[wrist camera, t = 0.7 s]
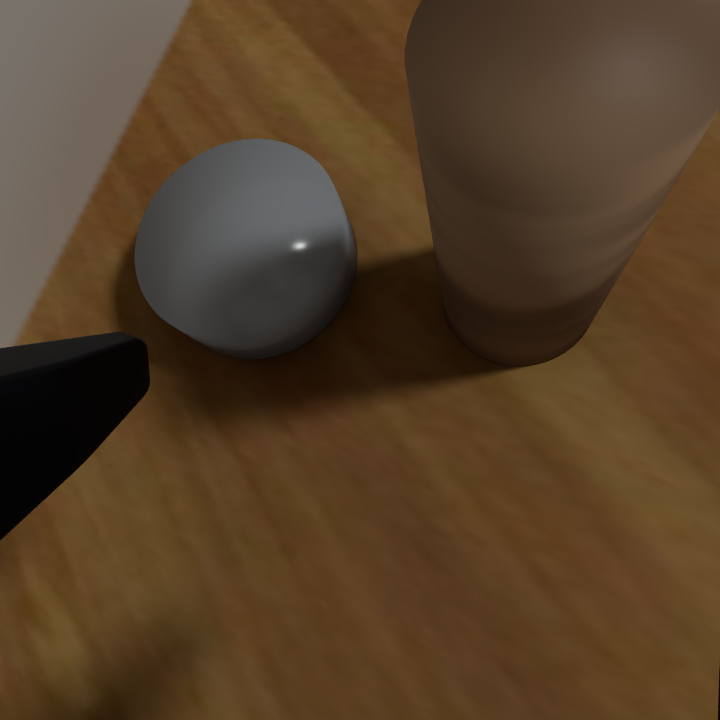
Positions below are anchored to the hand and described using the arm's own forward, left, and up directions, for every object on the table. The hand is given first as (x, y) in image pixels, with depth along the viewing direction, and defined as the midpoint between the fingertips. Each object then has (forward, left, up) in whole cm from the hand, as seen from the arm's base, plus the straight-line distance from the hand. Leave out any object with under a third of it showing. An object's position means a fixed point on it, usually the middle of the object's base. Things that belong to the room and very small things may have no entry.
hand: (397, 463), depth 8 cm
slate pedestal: (+5, +12, -13) cm, 19 cm away
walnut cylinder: (+8, +1, -13) cm, 16 cm away
